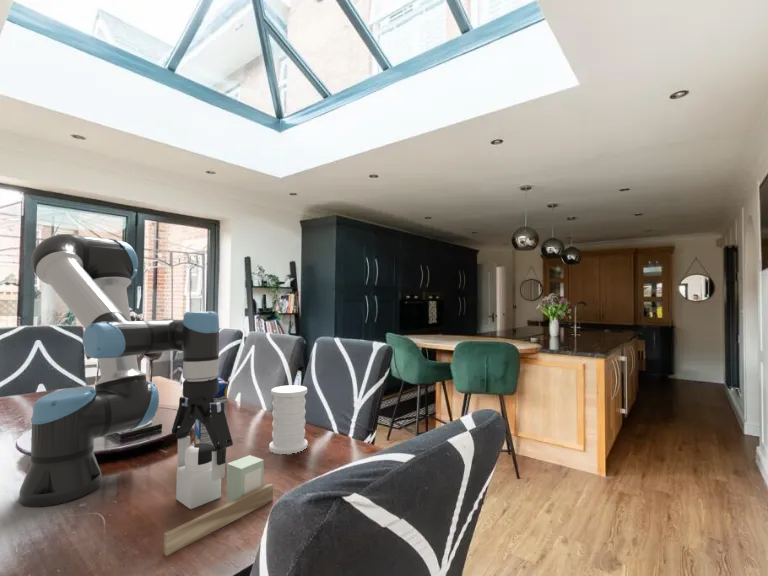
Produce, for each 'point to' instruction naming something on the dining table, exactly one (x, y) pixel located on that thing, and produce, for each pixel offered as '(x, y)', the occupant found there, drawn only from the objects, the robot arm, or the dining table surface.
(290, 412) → the decorative container
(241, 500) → the rail
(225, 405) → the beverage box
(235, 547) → the dining table surface
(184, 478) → the medicine bottle
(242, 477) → the sage carton
